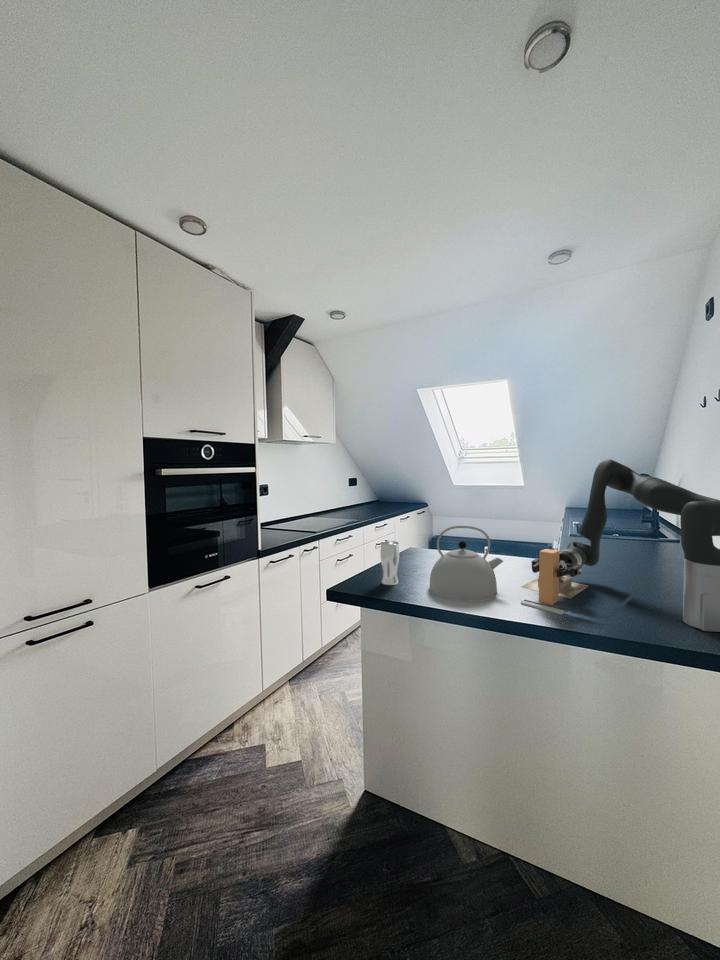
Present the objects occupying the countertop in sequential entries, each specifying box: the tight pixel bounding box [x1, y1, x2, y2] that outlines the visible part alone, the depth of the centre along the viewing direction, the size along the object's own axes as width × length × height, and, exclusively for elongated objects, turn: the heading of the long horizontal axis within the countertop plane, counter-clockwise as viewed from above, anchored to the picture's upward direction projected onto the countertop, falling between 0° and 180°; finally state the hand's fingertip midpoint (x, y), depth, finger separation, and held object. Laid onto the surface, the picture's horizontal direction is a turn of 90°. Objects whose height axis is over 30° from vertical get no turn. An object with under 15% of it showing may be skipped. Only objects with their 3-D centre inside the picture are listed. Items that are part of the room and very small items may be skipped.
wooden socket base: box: [520, 575, 590, 599], centre depth 133 cm, size 16×18×5 cm
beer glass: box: [379, 540, 400, 586], centre depth 142 cm, size 7×7×15 cm
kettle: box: [429, 525, 504, 602], centre depth 133 cm, size 25×23×23 cm
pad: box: [520, 599, 568, 616], centre depth 119 cm, size 12×12×1 cm
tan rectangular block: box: [538, 548, 560, 606], centre depth 119 cm, size 4×5×16 cm
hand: (545, 571), depth 117 cm, fingers open, 6 cm apart
